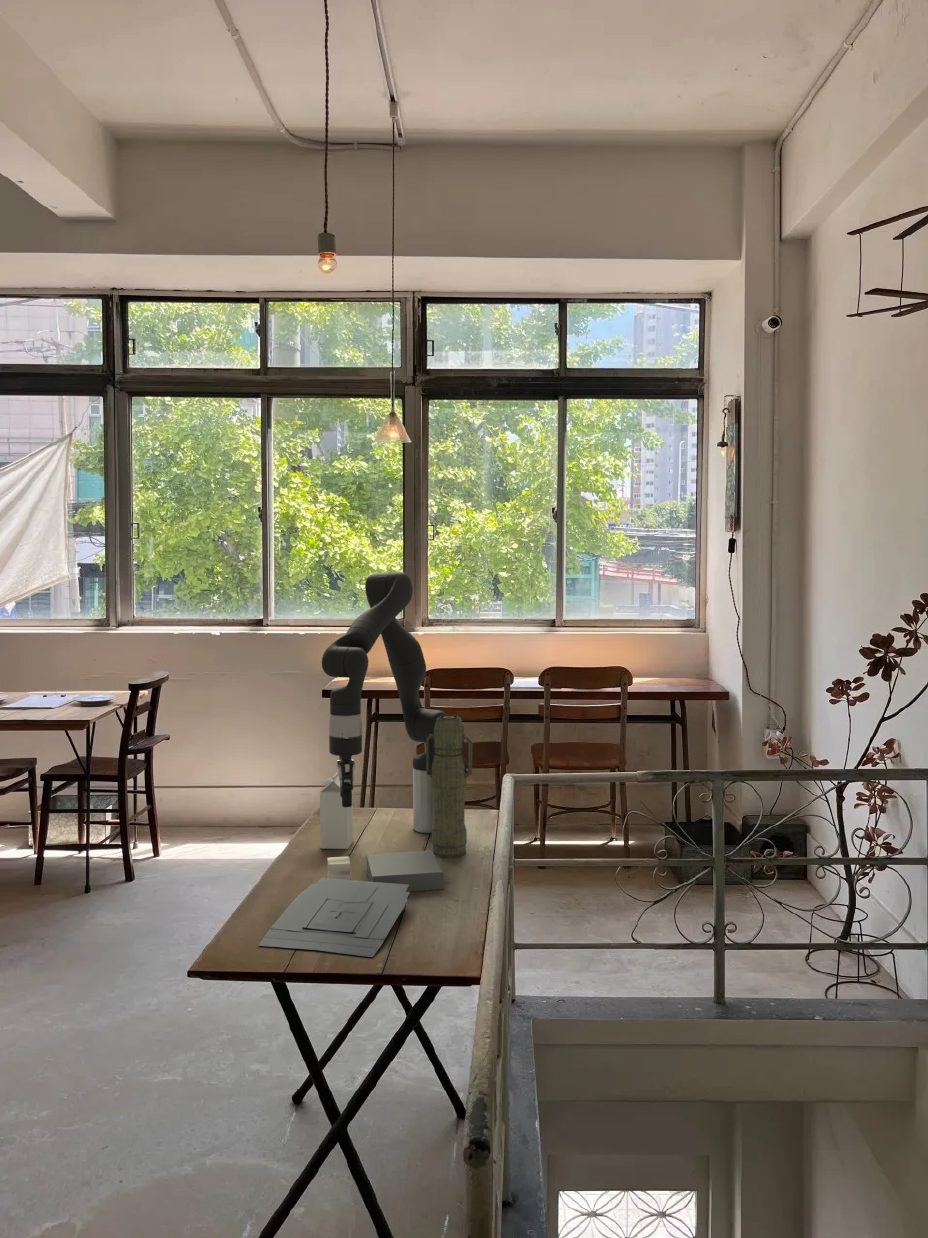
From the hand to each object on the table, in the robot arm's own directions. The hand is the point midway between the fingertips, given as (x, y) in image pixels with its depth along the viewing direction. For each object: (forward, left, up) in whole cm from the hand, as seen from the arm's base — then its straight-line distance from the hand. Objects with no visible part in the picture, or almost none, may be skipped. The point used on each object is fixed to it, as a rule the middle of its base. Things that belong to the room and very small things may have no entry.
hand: (346, 802), depth 228 cm
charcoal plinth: (+1, +13, -19) cm, 23 cm away
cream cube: (-1, -2, -19) cm, 19 cm away
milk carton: (-28, -1, -19) cm, 34 cm away
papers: (+25, -3, -19) cm, 32 cm away
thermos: (-17, +27, -19) cm, 37 cm away
